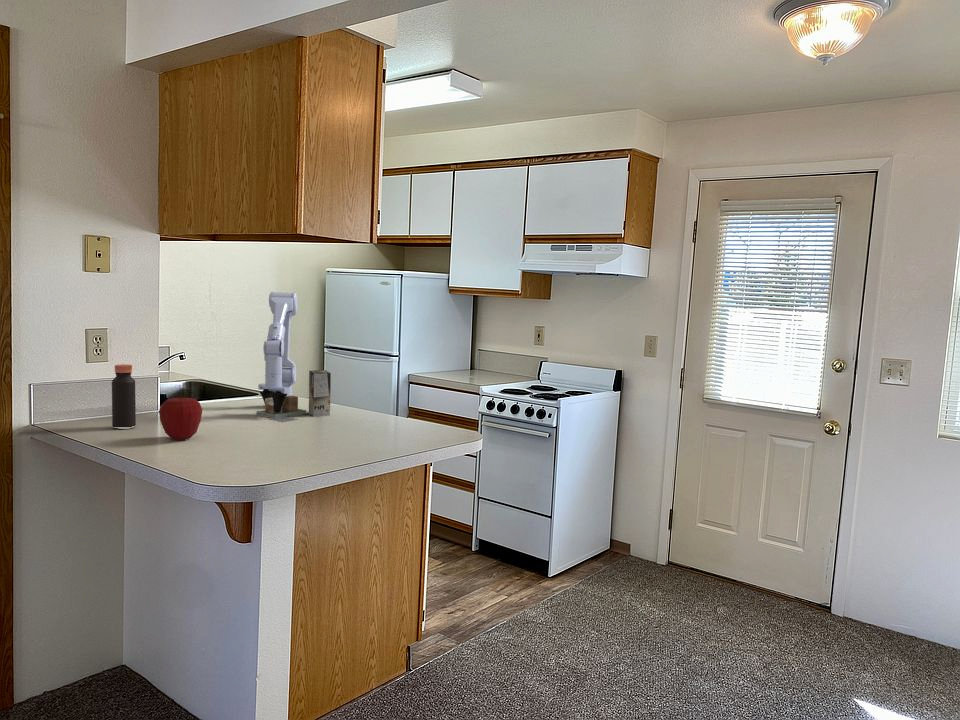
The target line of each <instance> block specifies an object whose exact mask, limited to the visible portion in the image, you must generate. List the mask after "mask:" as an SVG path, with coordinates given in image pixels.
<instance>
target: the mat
mask: <svg viewBox="0 0 960 720" xmlns="http://www.w3.org/2000/svg"><path fill="white" fill-rule="evenodd" d="M298 420H299V419H298V418H292V417H289V416H288V417H281V418H269V421H274V422H278V423H286V422H293V421H298Z"/></svg>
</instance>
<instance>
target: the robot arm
mask: <svg viewBox="0 0 960 720" xmlns="http://www.w3.org/2000/svg"><path fill="white" fill-rule="evenodd" d="M268 304H269V305H268V306H269V308H270V312H271V314H272V315H273V319H272V323H271V324H270V325H268V331H267V336H266V337H267V338H266V340H264V343H263V350H262V351H263V355H264V361H265V363H264V364H265V368H264V369H265V370H264V371H265V374H264V378H265V379H264V380H265V381H264V383H258V390H262V391H259V394H260V396H261V398H262V400H263V401H264V402H263V403H264V404H265V399H266V398H273V402H274V412H275V413H277V412H280V411H281V407H282V404H283V401H284V399H285V397H286V396H293V385H294V384H295V383H296V381H297V366H296V363H295V362H293V361H292V360H291V359H290V342H291V341H290V340H291V321H292V318H293V316H296V315H297V313H298V294H297V293H296V292H286V291H285V292H281V291H278V292H277V291H271V292H270V293H269V295H268Z"/></svg>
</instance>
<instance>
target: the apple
mask: <svg viewBox="0 0 960 720" xmlns="http://www.w3.org/2000/svg"><path fill="white" fill-rule="evenodd" d="M158 414H159V419H160V424H161V425H162V429H163V430H164V433H165V434H166V435H167V437H169V438H171V440H173V439H175V441H185V440H184V439H188V440H190V439H191V438H192V437H193V436H194V435H196V434H197V432H198V428H199V427H200V423H201V421H202V416H203V407H202V405H201V403H200V402H199V401H198V400H197V399H196V398H193V397H182V395H180V397H173V398H168V399H166V400H165V401H164V402H163V403H162V404H161V405H160V408H159V411H158ZM189 438H190V439H189Z"/></svg>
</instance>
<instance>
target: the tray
mask: <svg viewBox="0 0 960 720" xmlns="http://www.w3.org/2000/svg"><path fill="white" fill-rule="evenodd" d="M306 414H307V410H306V409H302V408H298V411H296V412H289V413H282V414H270V413H265V409H264V410H263V409H262V410H256V415H257V416H261V417H267V418H269V419H275V418H282V417H288V418H289V417H292V416H293V417H294V416H300V415H306Z"/></svg>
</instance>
